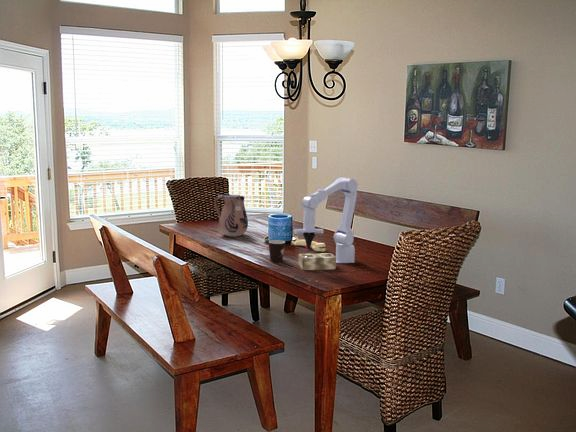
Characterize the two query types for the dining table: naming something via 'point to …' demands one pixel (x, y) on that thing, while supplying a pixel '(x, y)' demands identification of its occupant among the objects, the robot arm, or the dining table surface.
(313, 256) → the block
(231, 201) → the ceramic pitcher
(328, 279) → the dining table surface
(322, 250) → the cat figure
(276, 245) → the coffee mug
